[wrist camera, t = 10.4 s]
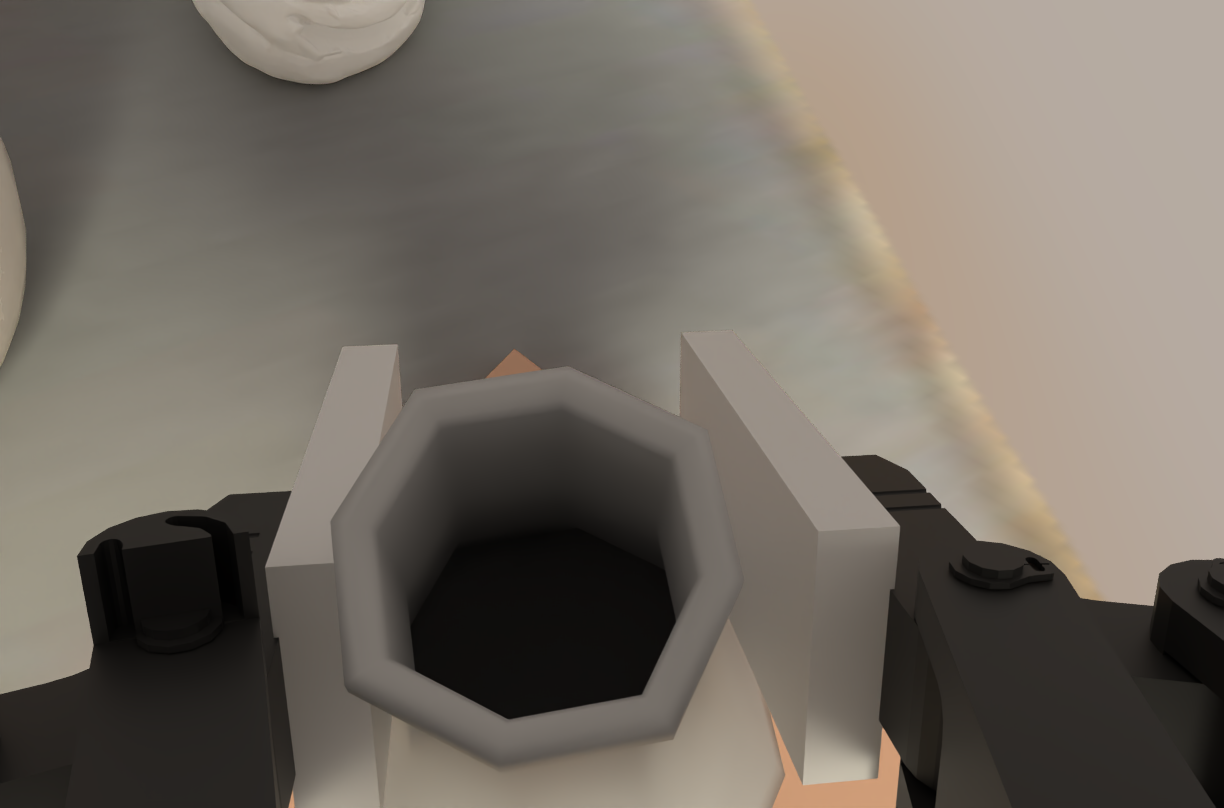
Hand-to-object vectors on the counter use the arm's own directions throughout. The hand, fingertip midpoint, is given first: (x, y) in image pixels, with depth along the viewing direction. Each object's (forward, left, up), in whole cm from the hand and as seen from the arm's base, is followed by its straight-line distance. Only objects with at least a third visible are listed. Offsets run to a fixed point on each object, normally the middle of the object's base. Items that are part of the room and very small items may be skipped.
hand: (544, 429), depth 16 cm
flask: (+3, -3, -4) cm, 5 cm away
